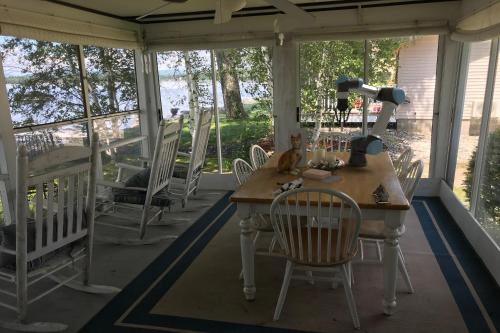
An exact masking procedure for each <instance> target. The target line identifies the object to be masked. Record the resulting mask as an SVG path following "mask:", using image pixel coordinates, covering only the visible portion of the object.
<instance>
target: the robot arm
mask: <svg viewBox="0 0 500 333" xmlns="http://www.w3.org/2000/svg"><path fill="white" fill-rule="evenodd" d="M334 86H335V87H336V89H337V93H336V94H337V99H336V101H337V103H336V106H335V107H334V108H333V109H332V110H333V111H334V114H335V115H334V116H335V118H336V122H338V124H339V126H338V127H339V128H340V133H343V132H344V128H345V126H346V123H347V122H348V121H349V117H350V114H351V111H352V107H350V106H349V93H350V92H352V93H356V94H360V95H362V96H366V97H369V98H370V99H371V100H375V101H378V102H380V103H382V104H383V105H382V106H381V108H380V111H379V113H378V115H377V118H376V121H375V123H374V124H373V127H372V128H371V132H370V133H368V134H367V135H354V136H351V137H350V151H349V157H348V160H347V165H348V166H352V167H366V166H368V164H369V163H368V159H367V156H366V155H369V156H377V155H379V154H381V152H382V151H383V148H384V146H383V145H384V144H383V135H384V133H385V131H386V129H387V126H388V124H389V123H390V120H391V118H392V116H393V113H394V111H395V109H397V108H398V107H399V105H400V104H403V103H404V101H406V100H405V99H406V93H405V90H404V89H403V88H402V87H386V86H385V87H380V86H372V85H367V84H365V83H364V80H363V78H361V77H350V76H349V75H348V74H347V75H338V77H337V79H336V80H335V81H334ZM337 110H338V111H339V115H338V111H337ZM347 110H348V112H347ZM346 112H347V116H346ZM342 115H343V116H342ZM338 116H339V117H338Z"/></svg>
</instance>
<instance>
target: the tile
mask: <svg viewBox="0 0 500 333" xmlns="http://www.w3.org/2000/svg"><path fill="white" fill-rule="evenodd" d="M331 175H332V171H327V170H322V169H315V168H310V169H307V170H304V171H302V175H301V177H302V176H303V177H309V178H314V179H320V180H323V179H325V178H328V177H330V176H331Z"/></svg>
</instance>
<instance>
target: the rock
mask: <svg viewBox="0 0 500 333" xmlns="http://www.w3.org/2000/svg"><path fill="white" fill-rule="evenodd" d="M371 194H372V195H373V194H376V195H377V197H378V198H376V199H377V202H389V201H388V198H389V195H390V194H389V192H388V191H387V189H386V187H385V185H384V183H383V182H381V183H379V185H378V186H377V187H376V189H375V190H374V191H372V193H371Z"/></svg>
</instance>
